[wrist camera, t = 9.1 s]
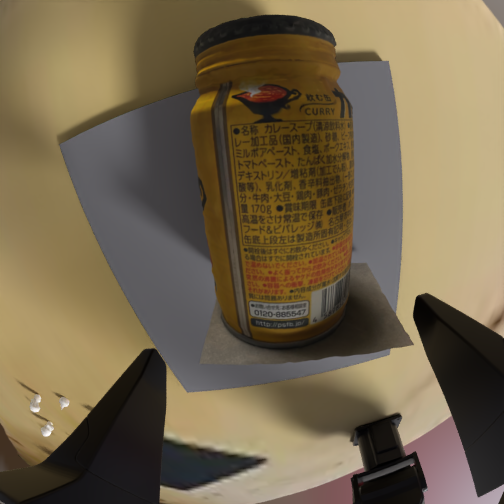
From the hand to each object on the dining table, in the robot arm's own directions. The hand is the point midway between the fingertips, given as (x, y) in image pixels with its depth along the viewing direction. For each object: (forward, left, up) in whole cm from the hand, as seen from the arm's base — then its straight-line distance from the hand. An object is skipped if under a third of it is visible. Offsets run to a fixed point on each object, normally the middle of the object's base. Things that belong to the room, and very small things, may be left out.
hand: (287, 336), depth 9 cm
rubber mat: (-3, +1, -8) cm, 9 cm away
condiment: (-3, -1, -4) cm, 5 cm away
